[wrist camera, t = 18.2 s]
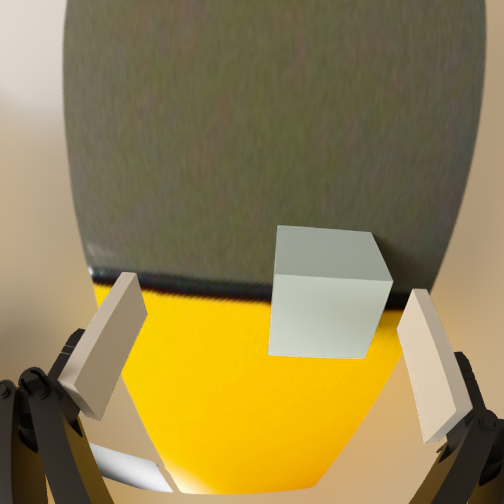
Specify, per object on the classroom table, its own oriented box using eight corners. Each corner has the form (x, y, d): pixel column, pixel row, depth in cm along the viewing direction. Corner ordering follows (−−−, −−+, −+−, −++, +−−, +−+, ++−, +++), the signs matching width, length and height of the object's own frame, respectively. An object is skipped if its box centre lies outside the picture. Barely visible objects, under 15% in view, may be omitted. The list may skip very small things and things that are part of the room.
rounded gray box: (277, 225, 33) (275, 274, 26) (370, 232, 32) (393, 281, 25) (271, 299, 38) (268, 354, 31) (352, 304, 38) (364, 358, 30)
